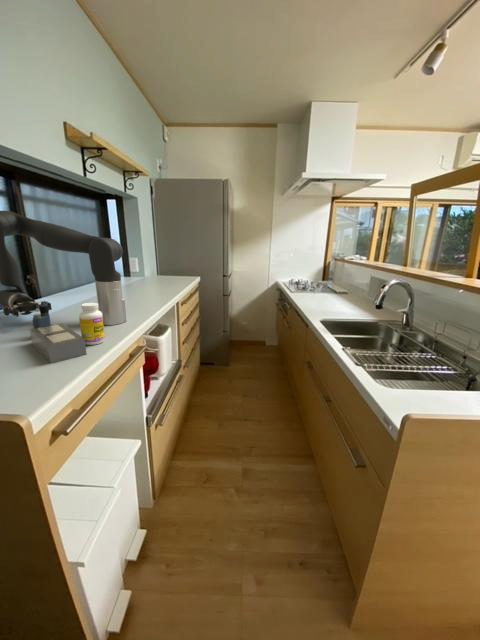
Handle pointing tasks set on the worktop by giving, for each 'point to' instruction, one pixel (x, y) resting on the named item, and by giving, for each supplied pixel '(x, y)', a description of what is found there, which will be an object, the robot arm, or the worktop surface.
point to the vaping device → (42, 316)
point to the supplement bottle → (91, 324)
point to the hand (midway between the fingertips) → (32, 311)
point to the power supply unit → (58, 342)
